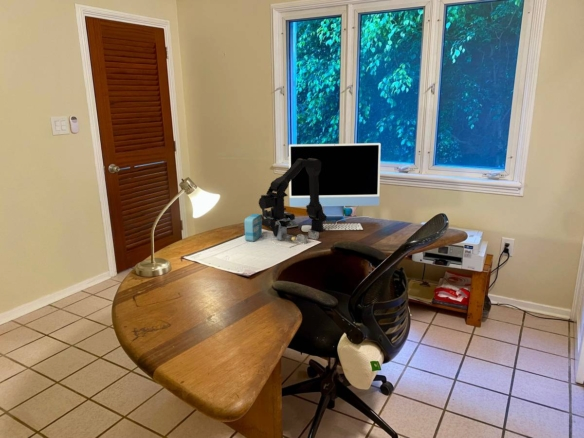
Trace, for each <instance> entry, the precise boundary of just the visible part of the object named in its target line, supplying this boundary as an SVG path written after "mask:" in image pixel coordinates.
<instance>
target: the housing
mask: <svg viewBox="0 0 584 438" xmlns="http://www.w3.org/2000/svg"><path fill="white" fill-rule="evenodd" d="M319 235H320V232H317V231H313V230H310V229H309V230H308V235H306V234H302V233H298V234H297V235H296V241H298V242H302V243H301V244H303V243H304V244H303V245H305V244H308V242H309V241H308V239H312V240H318V239H319V237H320V236H319Z"/></svg>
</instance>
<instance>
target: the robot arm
mask: <svg viewBox="0 0 584 438" xmlns="http://www.w3.org/2000/svg"><path fill="white" fill-rule="evenodd" d="M303 168H305V172H306V173H307V175H308V185H309V186H308V187H309V203H308V204H306V205H305V207H306V211H305V212H306V213H307V216H308V219H309V220H310V219H311V228H310V229H309V231H310V230H313V231H317V232H319V233H321V232H324V231H326V228H324V222H325V221H326V220H327V214H325V213H324V209H323V206H322V204H321V202H320V191H319V190H320V189H319V188H320V187H319V175H320V173H321V171H322V161H321V160H320V159H319V158H318V159H317V158H313V157H311V158H310V157H309V158H307V159H306V158H305V159H304V158H297V159H296V160H295V162H294V163H293V164H292V165H291V166H290V167H289V168H288V169H287V170H286V171H285V172H284V173H283V174H282V175H281V176H279V177H276V178H275V179H274V180H272V181H271V183H270V186H269V187H268V190H267V191H266V194H261V195H260V198H259V200H258V206H259V208H260V210H262V216H263V219H261V222H262V226H266V227H270V229H271V230H272V233H273V237H274V236H275V237H277V233H278V228H279V226H283V227H287V228H288V226H289V225H290V223H291V221H293V220H296V216H295V214H294V213H291V212H288V211H287V212H285V211H286V210H287V207H285V197H288V196H289V195H288V194H287V193H286V191H287V189H288V188H289V185H290V182H291V181H292V180H293V179H295V177H296V176H297V175H298V174H299V173H300V171H302V169H303ZM268 209H270V210H268ZM264 217H265V218H264ZM278 222H279V224H280V225H279V224H278Z"/></svg>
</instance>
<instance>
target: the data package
mask: <svg viewBox="0 0 584 438" xmlns="http://www.w3.org/2000/svg"><path fill="white" fill-rule="evenodd" d="M262 226H263V225H262V215H261V214H260V213H258V214H257V213H252V214H250V215H249V216H247V217H245V218H244V239H245V242H256V241H257V240H258V239H259V238H261V236H262V234H263V232H262V228H263V227H262Z"/></svg>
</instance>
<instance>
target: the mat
mask: <svg viewBox="0 0 584 438" xmlns="http://www.w3.org/2000/svg"><path fill="white" fill-rule="evenodd" d="M269 243H271V244H276V245H277V246H279V245H280V246H282V247H286V248H289V249H290V248H293V247H296V246H299V245H300V244H303V243H302V242H298V241H297V240H296V241H289V240H285V239H282V240H279V239H276V238H273V239H271V240H269ZM298 244H299V245H298Z"/></svg>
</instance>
